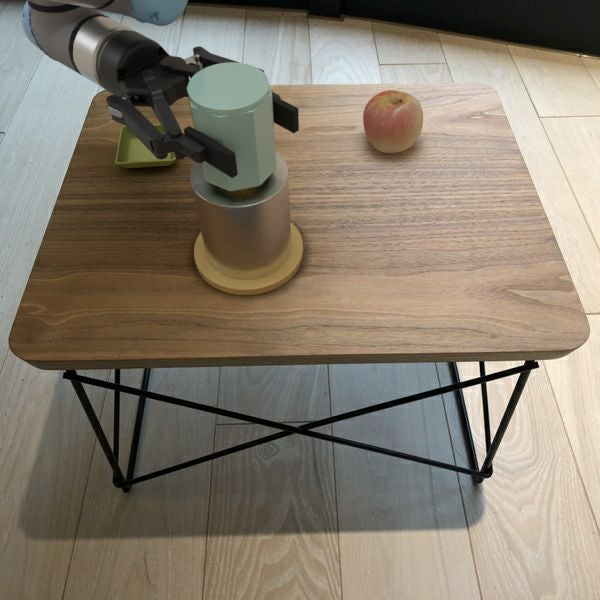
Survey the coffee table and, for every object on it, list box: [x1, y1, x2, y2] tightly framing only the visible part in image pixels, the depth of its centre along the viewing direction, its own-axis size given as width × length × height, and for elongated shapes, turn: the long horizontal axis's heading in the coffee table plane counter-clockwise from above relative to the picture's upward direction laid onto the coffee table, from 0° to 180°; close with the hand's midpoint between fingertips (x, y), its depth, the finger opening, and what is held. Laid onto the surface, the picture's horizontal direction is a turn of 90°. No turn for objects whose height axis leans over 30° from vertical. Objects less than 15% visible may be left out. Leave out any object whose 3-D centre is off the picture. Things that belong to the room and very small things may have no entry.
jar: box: [187, 62, 277, 191], centre depth 64 cm, size 8×8×10 cm
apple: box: [362, 89, 424, 154], centre depth 89 cm, size 9×9×8 cm
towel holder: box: [189, 150, 304, 296], centre depth 70 cm, size 14×14×24 cm
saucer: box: [114, 123, 177, 169], centre depth 91 cm, size 9×9×2 cm
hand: (265, 142), depth 62 cm, fingers closed on jar, 8 cm apart
